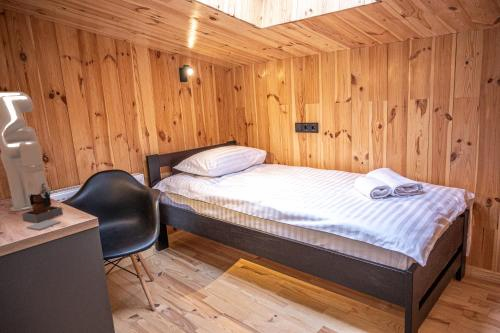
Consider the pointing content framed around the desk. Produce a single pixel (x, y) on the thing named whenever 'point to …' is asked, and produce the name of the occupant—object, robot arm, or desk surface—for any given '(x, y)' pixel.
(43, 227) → the mat
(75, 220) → the desk surface
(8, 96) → the robot arm
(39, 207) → the wooden figurine
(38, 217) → the dock
